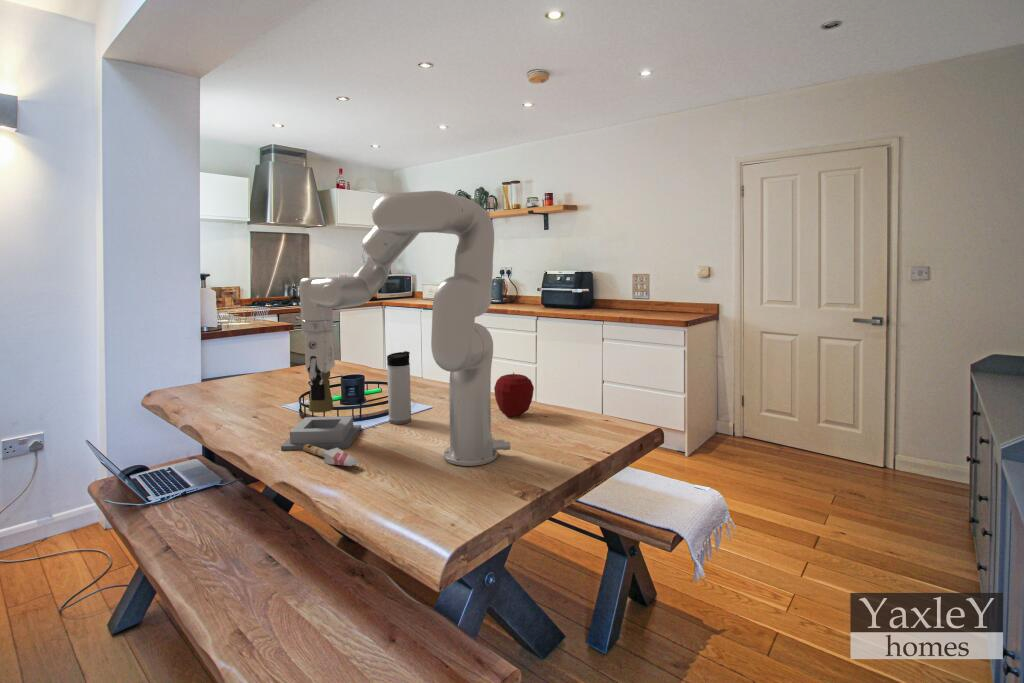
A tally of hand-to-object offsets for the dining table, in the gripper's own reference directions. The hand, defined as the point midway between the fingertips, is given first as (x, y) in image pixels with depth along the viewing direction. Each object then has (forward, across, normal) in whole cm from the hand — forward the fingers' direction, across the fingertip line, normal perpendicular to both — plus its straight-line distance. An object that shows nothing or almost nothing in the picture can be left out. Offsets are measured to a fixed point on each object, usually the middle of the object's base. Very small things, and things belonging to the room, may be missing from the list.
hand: (320, 396), depth 137 cm
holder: (+11, 0, 0) cm, 11 cm away
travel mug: (+11, +14, -18) cm, 25 cm away
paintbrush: (+11, -16, -6) cm, 20 cm away
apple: (+11, +17, -51) cm, 55 cm away
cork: (+4, 0, 0) cm, 4 cm away
